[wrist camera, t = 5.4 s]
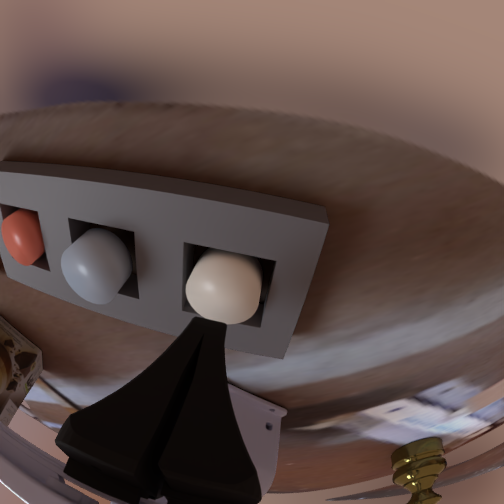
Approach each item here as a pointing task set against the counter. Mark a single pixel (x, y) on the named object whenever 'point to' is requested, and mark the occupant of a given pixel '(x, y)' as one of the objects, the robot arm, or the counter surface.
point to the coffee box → (16, 369)
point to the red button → (23, 236)
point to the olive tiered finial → (419, 469)
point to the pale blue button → (97, 265)
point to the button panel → (168, 243)
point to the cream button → (225, 286)
